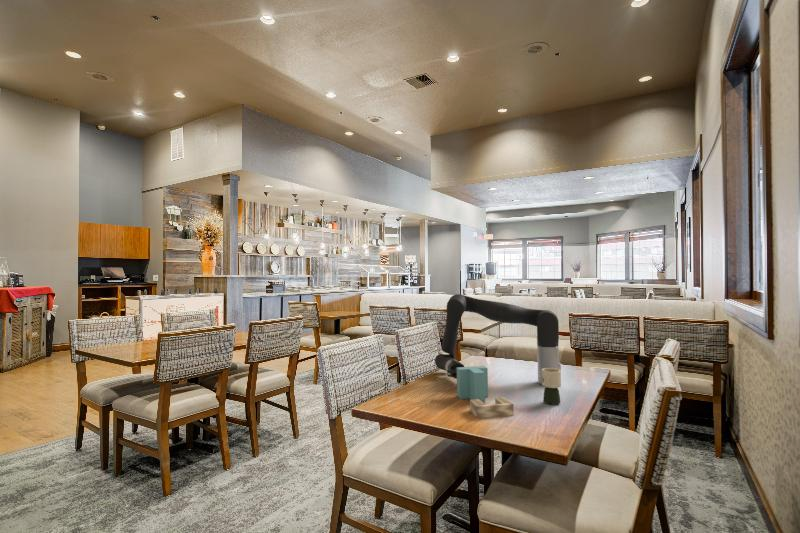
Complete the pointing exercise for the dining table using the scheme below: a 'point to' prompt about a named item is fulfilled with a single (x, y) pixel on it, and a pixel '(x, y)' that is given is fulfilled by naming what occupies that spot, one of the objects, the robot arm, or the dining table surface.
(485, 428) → the dining table surface
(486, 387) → the t block
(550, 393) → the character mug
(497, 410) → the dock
